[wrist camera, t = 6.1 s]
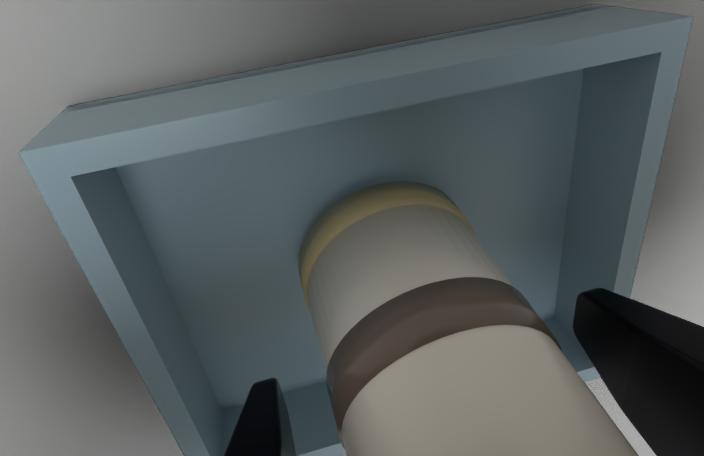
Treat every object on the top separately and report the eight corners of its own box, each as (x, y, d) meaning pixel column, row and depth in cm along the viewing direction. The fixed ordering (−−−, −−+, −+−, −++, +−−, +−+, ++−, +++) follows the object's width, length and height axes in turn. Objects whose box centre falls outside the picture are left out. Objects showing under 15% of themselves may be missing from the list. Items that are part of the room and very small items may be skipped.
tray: (557, 314, 15) (612, 373, 13) (209, 412, 13) (206, 496, 11) (596, 4, 10) (692, 16, 8) (68, 105, 9) (18, 152, 7)
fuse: (460, 291, 13) (648, 601, 7) (313, 331, 12) (403, 698, 7) (468, 162, 10) (770, 500, 5) (281, 206, 10) (389, 641, 4)
